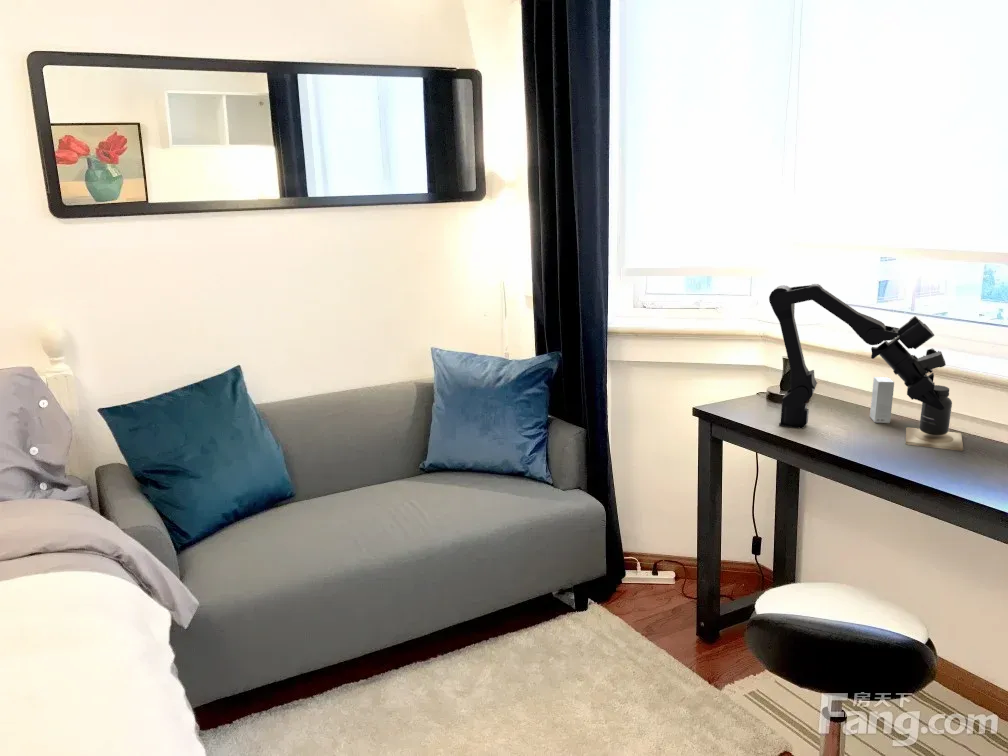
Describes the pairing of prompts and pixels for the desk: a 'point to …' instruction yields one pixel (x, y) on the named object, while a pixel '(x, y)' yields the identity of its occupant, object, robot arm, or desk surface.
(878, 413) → the skincare box
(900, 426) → the desk surface
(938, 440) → the birch coaster
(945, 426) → the supplement bottle
